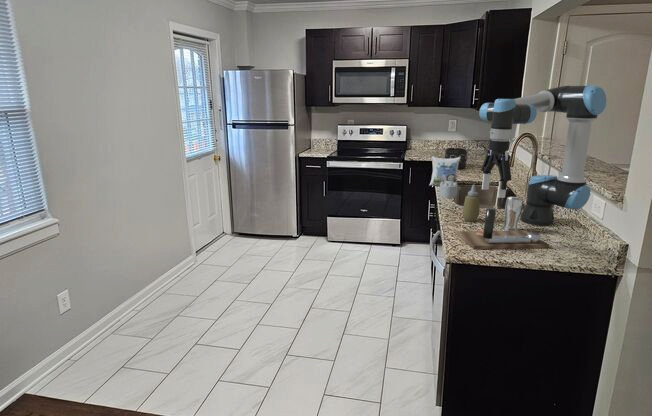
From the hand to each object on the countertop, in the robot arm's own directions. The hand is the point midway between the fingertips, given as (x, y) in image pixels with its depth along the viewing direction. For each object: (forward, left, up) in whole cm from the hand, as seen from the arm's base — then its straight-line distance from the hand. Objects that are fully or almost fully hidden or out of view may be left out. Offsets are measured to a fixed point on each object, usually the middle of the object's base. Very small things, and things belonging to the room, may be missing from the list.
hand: (492, 193), depth 168 cm
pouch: (-22, -111, -23) cm, 115 cm away
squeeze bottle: (-8, -35, -23) cm, 42 cm away
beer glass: (-21, -20, -23) cm, 37 cm away
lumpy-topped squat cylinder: (-15, -84, -23) cm, 88 cm away
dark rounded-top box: (-56, -176, -23) cm, 186 cm away
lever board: (-9, -5, -23) cm, 25 cm away
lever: (-10, 0, -21) cm, 23 cm away
